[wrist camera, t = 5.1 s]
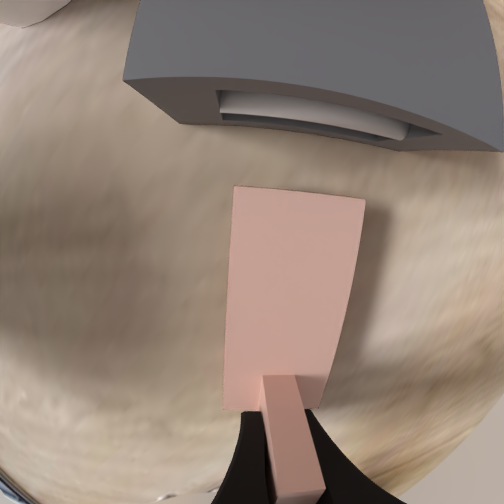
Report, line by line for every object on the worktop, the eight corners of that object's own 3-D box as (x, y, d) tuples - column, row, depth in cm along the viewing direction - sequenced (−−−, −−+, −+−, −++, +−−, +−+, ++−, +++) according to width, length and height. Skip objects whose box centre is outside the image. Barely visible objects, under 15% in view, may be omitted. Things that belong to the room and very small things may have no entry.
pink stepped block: (360, 198, 9) (485, 240, 4) (307, 429, 12) (333, 523, 6) (234, 185, 8) (232, 213, 3) (221, 430, 11) (221, 532, 6)
